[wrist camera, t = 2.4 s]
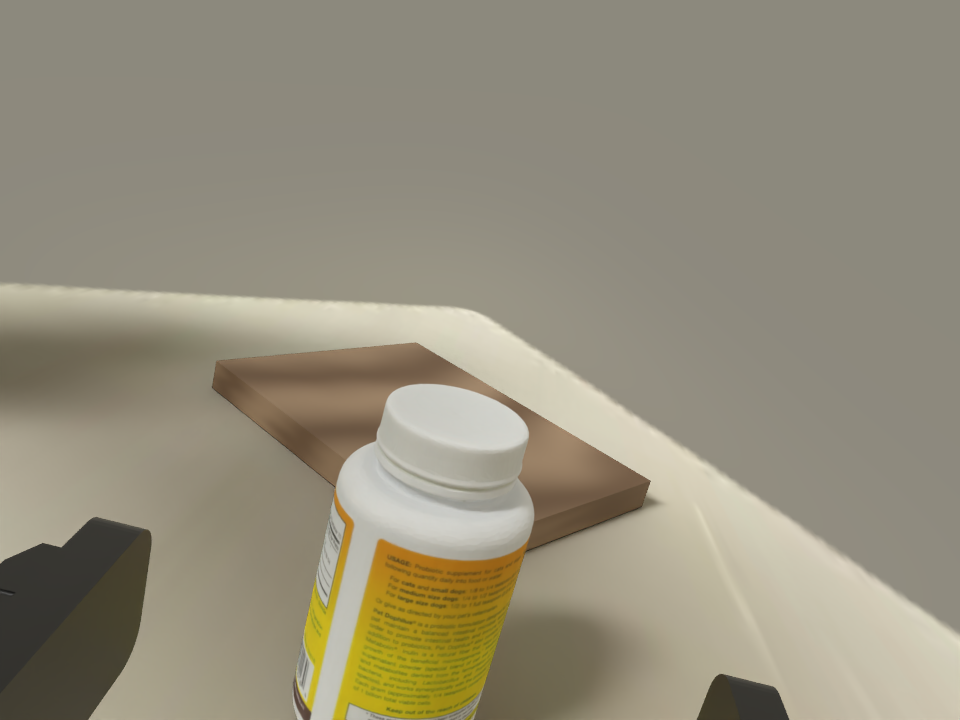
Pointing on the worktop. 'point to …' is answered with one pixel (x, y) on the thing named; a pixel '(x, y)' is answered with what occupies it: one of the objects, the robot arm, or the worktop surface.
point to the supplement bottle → (417, 562)
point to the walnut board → (359, 409)
